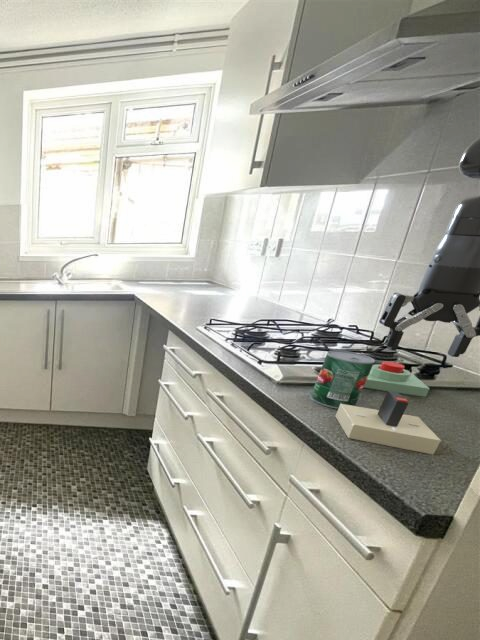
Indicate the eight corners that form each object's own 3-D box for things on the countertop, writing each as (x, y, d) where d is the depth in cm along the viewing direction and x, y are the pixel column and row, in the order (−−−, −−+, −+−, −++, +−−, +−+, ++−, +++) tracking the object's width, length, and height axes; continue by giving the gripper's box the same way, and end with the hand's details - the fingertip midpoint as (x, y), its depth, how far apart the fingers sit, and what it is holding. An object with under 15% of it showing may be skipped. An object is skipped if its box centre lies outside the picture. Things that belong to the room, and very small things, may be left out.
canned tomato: (302, 393, 98) (318, 349, 93) (339, 395, 96) (358, 351, 92) (323, 408, 90) (342, 361, 86) (364, 411, 89) (385, 363, 85)
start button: (398, 369, 102) (401, 363, 101) (404, 375, 99) (407, 368, 98) (377, 366, 104) (379, 360, 103) (382, 372, 100) (385, 365, 100)
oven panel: (411, 430, 82) (418, 415, 81) (433, 455, 74) (441, 439, 73) (335, 416, 87) (340, 402, 86) (348, 438, 79) (354, 423, 78)
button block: (408, 382, 104) (415, 367, 103) (425, 397, 96) (433, 381, 94) (347, 373, 109) (353, 359, 108) (359, 386, 101) (365, 371, 100)
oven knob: (377, 413, 82) (388, 389, 80) (387, 415, 81) (399, 391, 79) (385, 424, 78) (397, 399, 76) (397, 426, 77) (409, 401, 75)
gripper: (507, 262, 71) (462, 352, 78) (398, 258, 77) (365, 341, 84) (537, 268, 65) (486, 364, 72) (415, 263, 71) (378, 353, 77)
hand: (420, 352), depth 78 cm, fingers open, 8 cm apart
